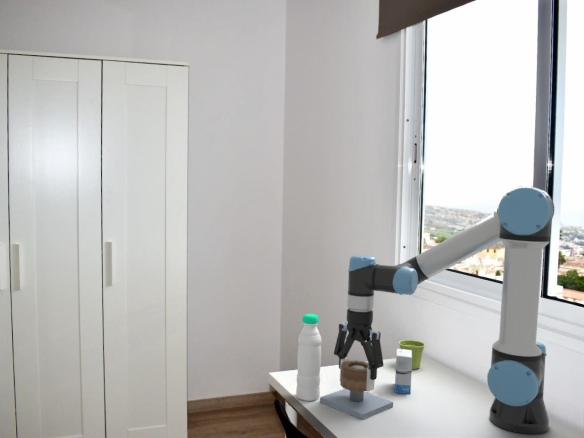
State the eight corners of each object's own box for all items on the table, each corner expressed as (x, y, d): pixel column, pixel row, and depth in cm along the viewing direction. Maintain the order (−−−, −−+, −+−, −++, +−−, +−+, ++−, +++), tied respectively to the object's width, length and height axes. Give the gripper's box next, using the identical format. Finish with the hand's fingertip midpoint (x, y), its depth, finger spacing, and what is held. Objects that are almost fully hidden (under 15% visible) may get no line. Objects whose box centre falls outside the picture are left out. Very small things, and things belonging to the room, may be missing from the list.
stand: (393, 406, 160) (394, 369, 159) (362, 419, 150) (364, 380, 150) (350, 391, 171) (352, 356, 171) (319, 402, 162) (321, 365, 161)
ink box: (410, 394, 171) (412, 357, 170) (394, 392, 172) (396, 355, 171) (410, 385, 179) (412, 349, 178) (395, 383, 180) (396, 348, 179)
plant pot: (397, 370, 194) (398, 345, 194) (397, 362, 203) (398, 338, 203) (425, 372, 192) (426, 347, 192) (423, 364, 202) (424, 340, 201)
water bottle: (324, 397, 165) (327, 315, 164) (308, 403, 160) (311, 318, 159) (306, 391, 170) (309, 311, 169) (291, 397, 165) (294, 314, 164)
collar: (379, 386, 160) (380, 366, 160) (359, 393, 154) (360, 372, 154) (354, 378, 167) (355, 358, 167) (334, 384, 161) (335, 364, 160)
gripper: (399, 314, 154) (395, 393, 155) (340, 301, 170) (336, 372, 171) (383, 317, 149) (379, 399, 150) (323, 303, 165) (320, 377, 166)
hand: (356, 385), depth 161 cm, fingers closed on collar, 9 cm apart
